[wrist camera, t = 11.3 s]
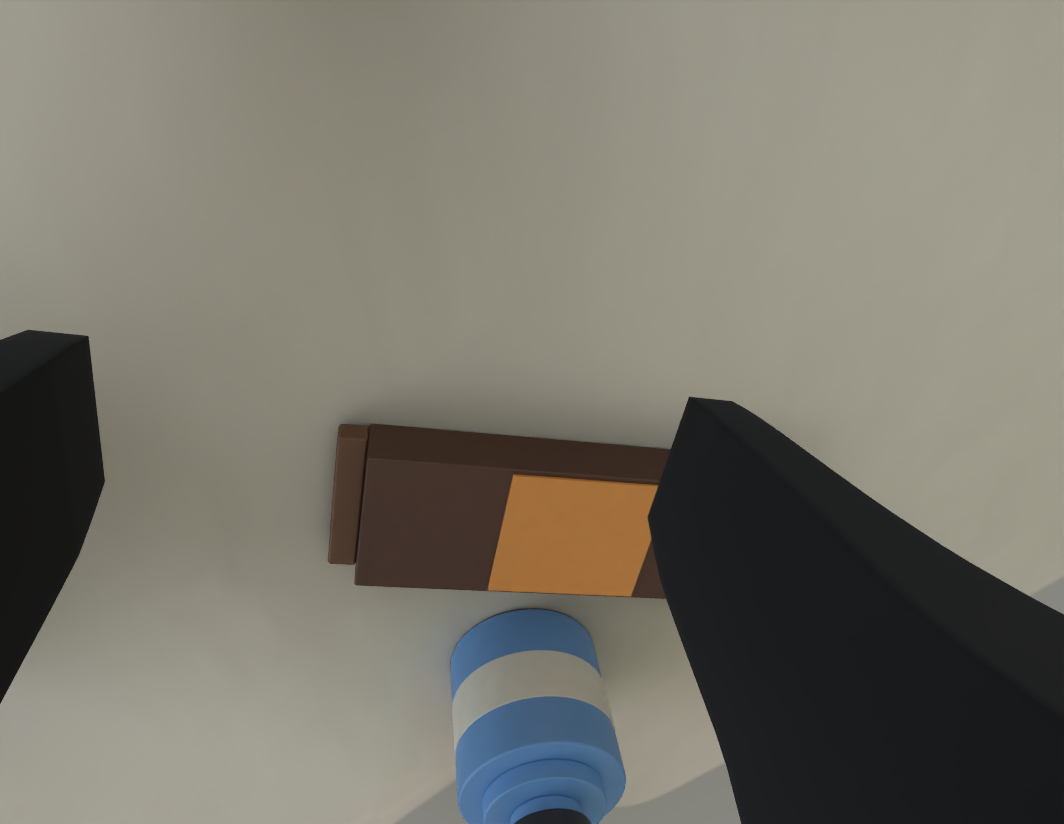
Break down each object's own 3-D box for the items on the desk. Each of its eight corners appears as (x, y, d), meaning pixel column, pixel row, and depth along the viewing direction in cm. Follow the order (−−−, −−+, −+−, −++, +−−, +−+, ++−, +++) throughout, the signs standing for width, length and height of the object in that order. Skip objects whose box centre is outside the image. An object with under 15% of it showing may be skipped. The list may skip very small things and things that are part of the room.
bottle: (513, 723, 29) (538, 924, 24) (418, 662, 27) (421, 870, 21) (622, 655, 28) (677, 851, 22) (533, 584, 26) (569, 784, 20)
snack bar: (329, 545, 24) (324, 587, 22) (339, 420, 21) (334, 458, 20) (748, 568, 26) (767, 606, 25) (797, 459, 24) (821, 495, 23)
